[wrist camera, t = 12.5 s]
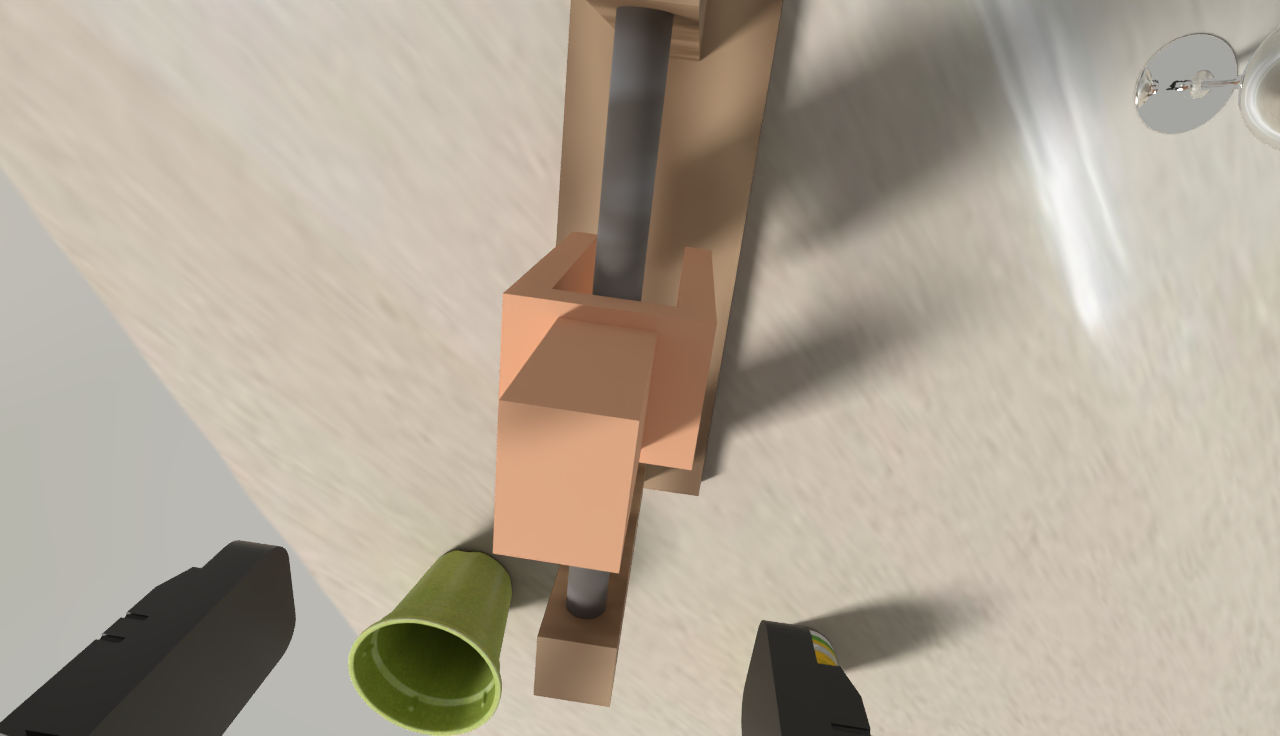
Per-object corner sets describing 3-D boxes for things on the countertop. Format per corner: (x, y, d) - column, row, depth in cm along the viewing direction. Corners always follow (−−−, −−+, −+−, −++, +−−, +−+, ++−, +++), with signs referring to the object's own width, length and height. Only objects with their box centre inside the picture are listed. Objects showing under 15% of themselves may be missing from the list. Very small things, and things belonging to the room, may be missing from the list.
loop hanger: (565, 333, 31) (422, 559, 15) (573, 231, 29) (420, 366, 13) (694, 351, 31) (688, 601, 15) (711, 250, 29) (724, 411, 13)
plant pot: (483, 653, 48) (440, 759, 40) (384, 580, 47) (318, 676, 39) (561, 585, 45) (532, 686, 37) (458, 504, 44) (404, 592, 36)
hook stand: (547, 461, 42) (446, 690, 25) (578, -30, 31) (440, -198, 15) (698, 483, 41) (697, 730, 25) (781, -7, 31) (876, -154, 14)
